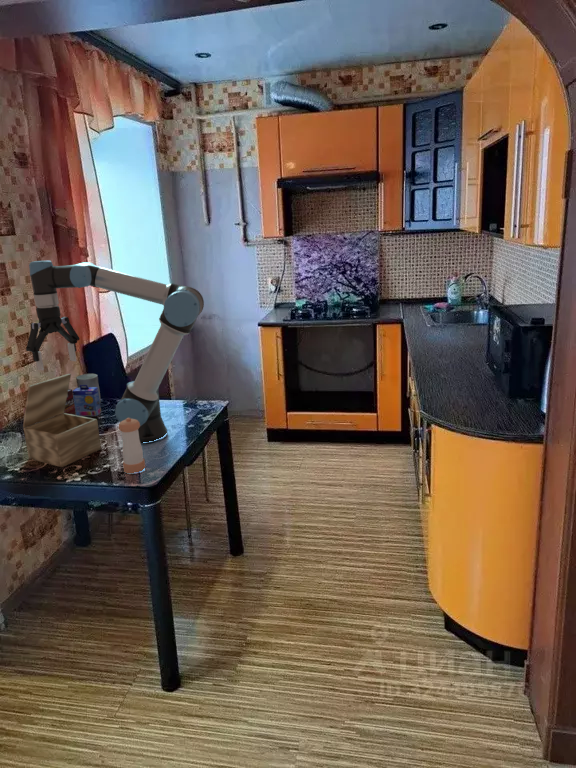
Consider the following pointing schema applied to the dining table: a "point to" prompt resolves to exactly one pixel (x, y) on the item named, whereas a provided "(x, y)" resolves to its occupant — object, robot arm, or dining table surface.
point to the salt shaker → (131, 446)
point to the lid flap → (46, 399)
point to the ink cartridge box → (86, 401)
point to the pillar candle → (88, 381)
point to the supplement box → (69, 404)
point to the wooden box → (62, 439)
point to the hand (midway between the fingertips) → (57, 365)
